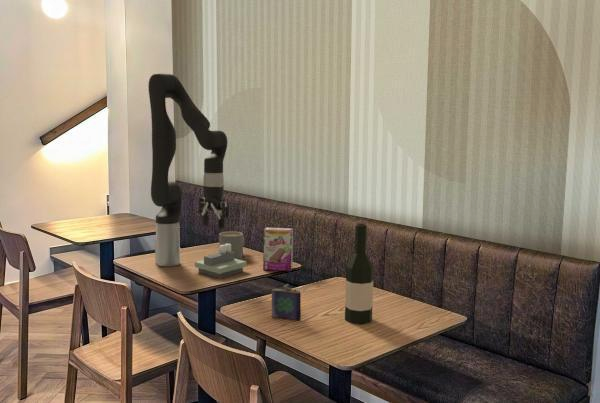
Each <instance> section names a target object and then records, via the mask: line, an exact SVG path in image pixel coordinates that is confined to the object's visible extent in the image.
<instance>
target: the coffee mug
mask: <svg viewBox="0 0 600 403" xmlns="http://www.w3.org/2000/svg"><path fill="white" fill-rule="evenodd" d="M218 237H219V238H218V239H219V240H218V241H219V245H218V246H219V252H218V253H220V245H225V244H231V252H234V259H238V260H242V258H244V247H245V237H244V234H243V232H240V231H232V230H231V231H222V232H220V233H219V234H218Z"/></svg>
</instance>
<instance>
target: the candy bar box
mask: <svg viewBox="0 0 600 403" xmlns="http://www.w3.org/2000/svg"><path fill="white" fill-rule="evenodd" d="M293 242H294V228H290V227H287V228H284V227H267V226H266V227H265V228H263V256H262V257H263V265H262V270H263V271H275V272H277V271H278V272H291V271H292V270H293V256H294V255H293V252H294V251H293V250H294V249H293V247H294V246H293V245H294V243H293Z"/></svg>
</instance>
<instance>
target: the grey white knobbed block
mask: <svg viewBox="0 0 600 403" xmlns="http://www.w3.org/2000/svg"><path fill="white" fill-rule="evenodd" d="M203 260H204V264H206V265H209V266H213V265H217V264H221V263H225V262H228V261H232V260H234V252H231V244H225V245H220V253H219V252H217V253H212V254H208V255H204V256H203Z"/></svg>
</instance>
